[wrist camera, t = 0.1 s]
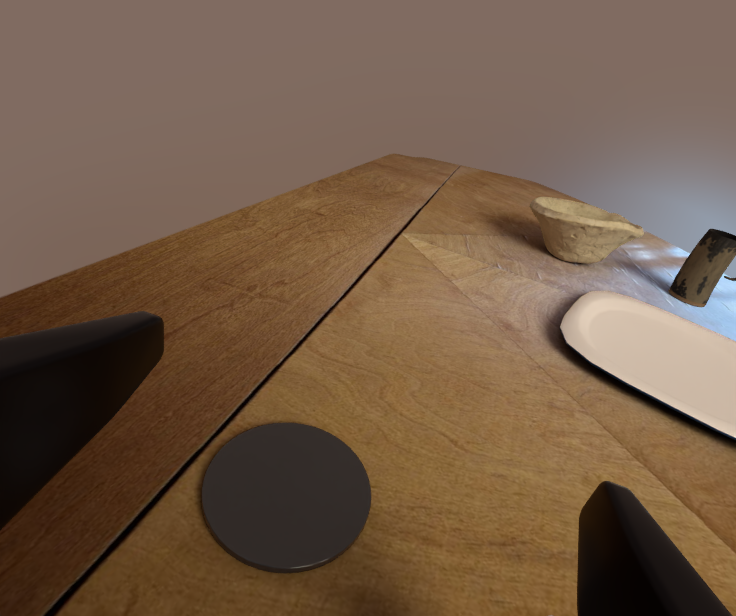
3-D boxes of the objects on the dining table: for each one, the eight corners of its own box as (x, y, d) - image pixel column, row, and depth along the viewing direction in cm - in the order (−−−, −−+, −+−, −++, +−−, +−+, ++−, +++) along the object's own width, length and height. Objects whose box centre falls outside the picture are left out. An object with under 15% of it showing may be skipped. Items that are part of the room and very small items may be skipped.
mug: (668, 296, 72) (712, 226, 66) (666, 285, 76) (707, 219, 70) (723, 316, 69) (774, 246, 63) (717, 304, 74) (765, 237, 68)
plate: (536, 350, 48) (543, 337, 47) (589, 289, 67) (595, 279, 66) (825, 503, 37) (840, 490, 36) (791, 378, 56) (800, 367, 55)
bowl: (552, 292, 74) (508, 216, 74) (576, 258, 88) (538, 194, 87) (641, 256, 65) (592, 168, 64) (652, 224, 78) (611, 151, 77)
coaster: (338, 605, 22) (340, 600, 22) (162, 528, 24) (162, 522, 23) (386, 459, 31) (388, 454, 31) (254, 408, 32) (255, 403, 32)
